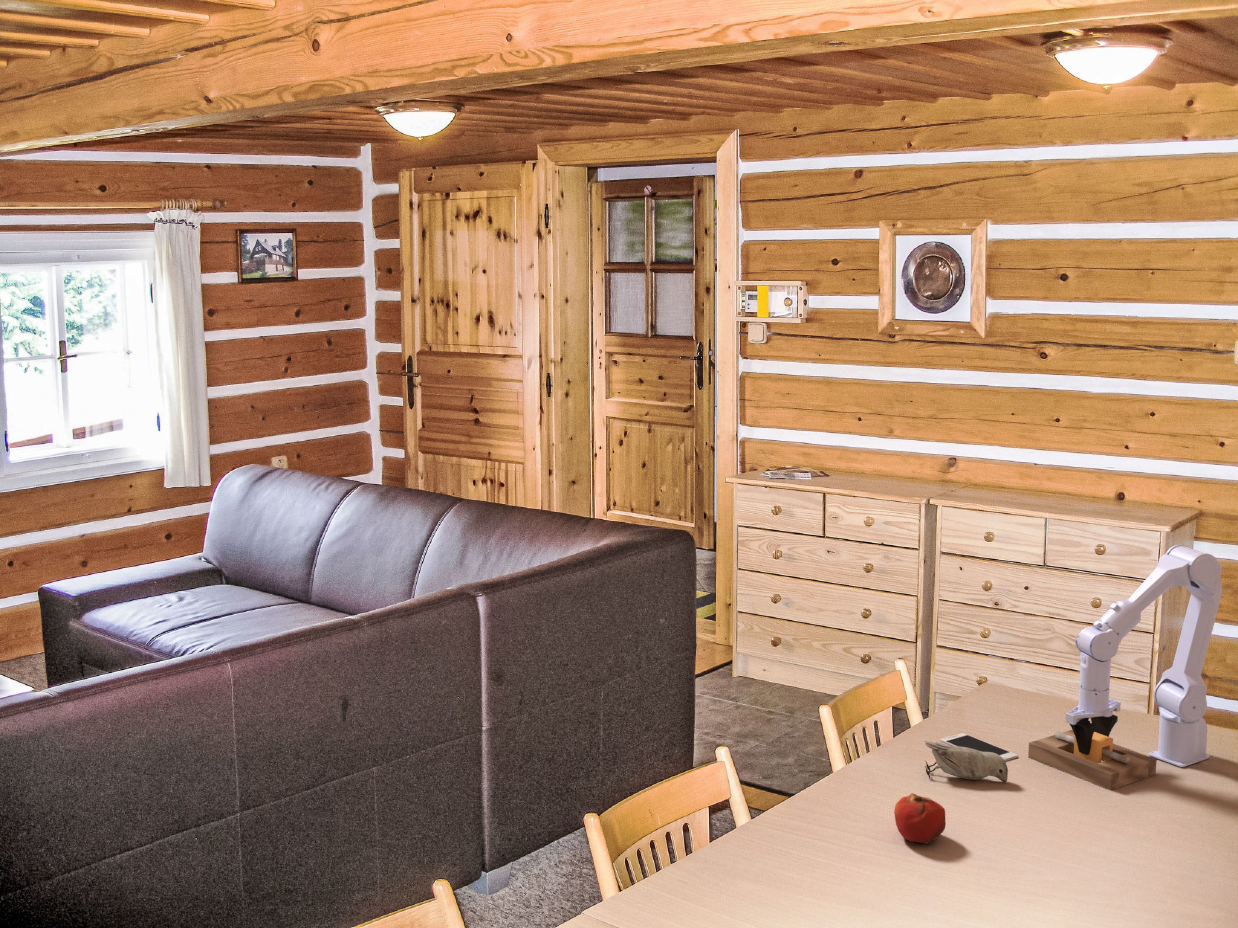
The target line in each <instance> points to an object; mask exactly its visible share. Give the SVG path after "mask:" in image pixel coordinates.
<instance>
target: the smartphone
mask: <svg viewBox="0 0 1238 928" xmlns="http://www.w3.org/2000/svg"><path fill="white" fill-rule="evenodd" d="M939 743H941V744H945V745H949V746H960V747H967V748H971V749H975V750H978V751H982V752H992V753H996V754H998V755H1000V756H1001V757H1002V758H1003V759H1004V760H1005V762H1007V761H1010V760H1014V759H1018V757H1019V754H1017V753H1015V752H1012V751H1009V750H1007V749H1005V748H1002V747H1000V746H997V745H995V744H992V743H989V742H987V741H984V740H982V739H979V738H976V737H974V736H972V735H970V734H967V733H966V732H965V733H963V732H961V733H958V734H954V735H950V736H946V737H943V738H940V740H939Z"/></svg>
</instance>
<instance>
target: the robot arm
mask: <svg viewBox="0 0 1238 928" xmlns="http://www.w3.org/2000/svg"><path fill="white" fill-rule="evenodd" d="M1222 571H1223V566H1222V564H1221V563H1220V562H1219V561H1218V559H1217V558H1216V557H1215V556H1214V555H1213V554H1210V553H1207V552H1206V553H1205V552H1202V551H1199V550H1196V549H1193V548H1190V547H1188V546H1186V545H1184V544H1175V545H1173V546H1171V547H1169V549H1167V551H1166V552H1165V553H1164V554H1163V555H1162V556H1160V557H1159V560H1158V561H1157V566H1156V568H1154V570H1153V571H1152V572H1151V573H1150V575H1148V576H1147V578H1146V579H1145V580H1144V581H1143V582H1142V583H1141V584H1140V585H1139V586H1138V588H1137V589H1136V590H1135V591H1134V592H1133V593H1132V594H1131V596H1130V597H1129V598H1127V599H1125V600H1117V601H1116V602H1113V603H1112V604H1110V605H1109V610H1107V611H1106V612H1105V613H1104V614H1103V615H1102V616H1101V617H1100V618H1099V619H1098V620H1096V621H1094V622H1093V623H1092V624H1093V625H1092V626H1086V627H1085V628H1083V629H1082V630H1081V631H1080V632H1079V633H1078V634H1077V638H1075V639H1074V644H1075V647H1076V648H1077V650H1078V651H1079V659H1080V662H1079V683H1078V687H1079V688H1078V705H1076V706H1075V707H1073V708H1072V709H1071V710H1070V711H1067V712H1065V723H1066V724H1069V726H1070V728H1071V730H1073V732H1074V734H1075V737H1076V741H1077V745H1078V750H1079V752H1080V753H1083V754H1085V755H1089V753H1090V749H1091V742H1092V737H1093V734H1094V732H1096V733H1099V734H1102V735H1105V736H1107V737H1110V735H1111V732H1112V730H1113V728H1114V726H1115V725H1116V724H1117V723H1118V719H1119V716H1117V715H1115V714H1114V713H1113V712H1116V713H1118V712H1121V703H1122V702H1121V701H1118V700H1115V699H1110V683H1111V665H1112V664H1111V661H1112V658H1113V657H1115V656H1116V655H1117V653H1118V651H1119V645H1120V644H1121V643H1122V640H1123V639H1124V638H1125V637H1126V636H1127V635H1128V634H1129V633H1130V632H1131V631H1132V630H1133V629H1134V628H1135V627H1137V625H1138V624H1139V623H1140V622H1141V621H1142V612H1143V611H1144V610H1145V609H1146V608H1148V607H1149V606H1150V605H1151V604H1153V603H1154V602H1155V601H1156V600H1157V599H1158V598H1159V597H1161V596H1162V595H1163V594H1164V593H1165V592H1166V591H1168V590H1169V589H1170V588H1172V587H1185V588H1186V589H1187V591H1188V592H1189V593H1190V595H1189V596H1190V598H1189V600H1188V605H1187V609H1186V612H1185V615H1184V620H1183V624H1182V627H1181V633H1180V635H1179V639H1178V643H1177V648H1176V650H1175V651H1176V652H1175V654H1174V658H1173V659H1174V660H1173V663H1172V666H1171V667H1170V668H1168V669H1165V671H1163V672H1162V675H1161V677H1160V680H1159V682H1158V683H1157V684H1156V685H1155V687H1154V690H1153V695H1152V696H1153V700H1154V702H1155V704H1156V705H1157V706H1158V712H1159V722H1158V723H1159V726H1158V728H1159V729H1158V744H1157V747H1158V748H1157V749H1155V750H1154V751H1150V752H1149V753H1148V756H1149V757H1152V758H1155V759H1157V760H1161V761H1164V762H1166V763H1169V764H1171V765H1174V766H1177V767H1180V768H1185V767H1187V766H1190V765H1194V764H1196V763H1199V762H1202V761H1204V760H1208V759H1210V758H1211V755H1209V754H1207V740H1208V725H1207V722H1206V720H1205V718H1204V717H1203V716H1205V714H1206V711H1207V709H1208V703H1207V692H1208V688H1207V685H1206V683H1205V681H1204V679H1203V677H1202V672H1203V669H1204V664H1205V661H1206V657H1207V654H1208V653H1207V652H1208V649H1209V645H1210V642H1211V638H1212V633H1213V630H1214V625H1215V622H1216V618H1217V614H1218V610H1219V606H1220V603H1221V599H1222V594H1223V588H1222V581H1221V575H1222Z"/></svg>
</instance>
